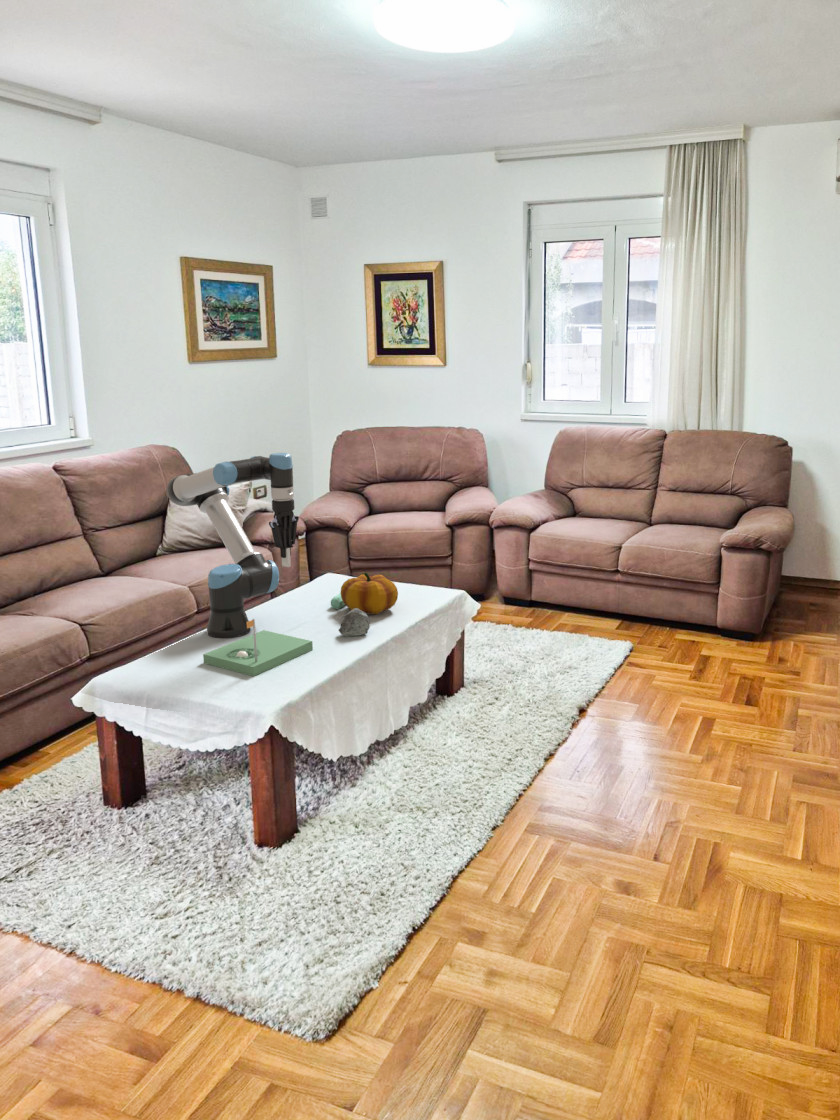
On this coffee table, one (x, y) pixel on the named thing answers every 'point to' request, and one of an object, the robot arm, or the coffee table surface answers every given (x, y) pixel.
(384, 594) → the decorative pumpkin
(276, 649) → the green
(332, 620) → the coffee table surface
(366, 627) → the stone
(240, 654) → the ball
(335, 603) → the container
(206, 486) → the robot arm
